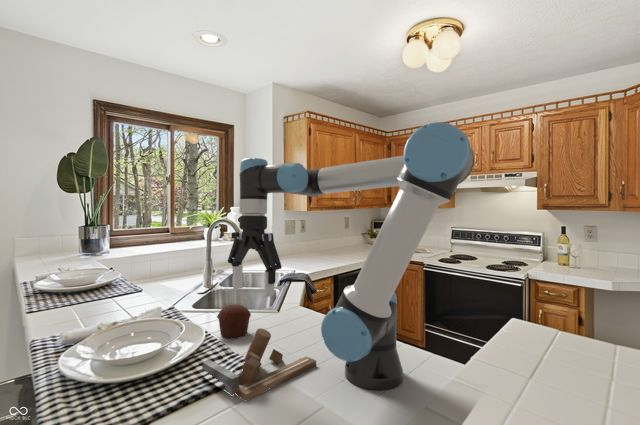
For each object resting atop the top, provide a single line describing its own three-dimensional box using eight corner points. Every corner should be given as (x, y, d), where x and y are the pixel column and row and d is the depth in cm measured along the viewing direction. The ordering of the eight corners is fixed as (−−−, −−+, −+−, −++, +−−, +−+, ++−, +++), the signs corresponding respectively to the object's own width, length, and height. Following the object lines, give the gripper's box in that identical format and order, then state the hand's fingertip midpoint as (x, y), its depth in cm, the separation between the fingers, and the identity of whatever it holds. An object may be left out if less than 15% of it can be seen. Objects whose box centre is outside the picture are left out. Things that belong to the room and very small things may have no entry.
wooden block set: (250, 400, 79) (266, 363, 78) (221, 380, 81) (236, 345, 80) (279, 365, 96) (293, 334, 95) (255, 349, 98) (268, 320, 97)
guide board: (316, 365, 92) (316, 351, 92) (242, 403, 73) (242, 385, 73) (275, 349, 103) (275, 336, 103) (202, 377, 84) (202, 362, 84)
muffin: (254, 329, 121) (255, 302, 121) (245, 340, 110) (245, 310, 110) (223, 328, 122) (224, 301, 122) (211, 338, 111) (211, 309, 111)
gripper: (295, 215, 86) (294, 296, 85) (237, 215, 102) (236, 284, 101) (273, 214, 80) (273, 302, 79) (216, 215, 96) (215, 288, 95)
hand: (252, 292), depth 90 cm, fingers open, 13 cm apart
